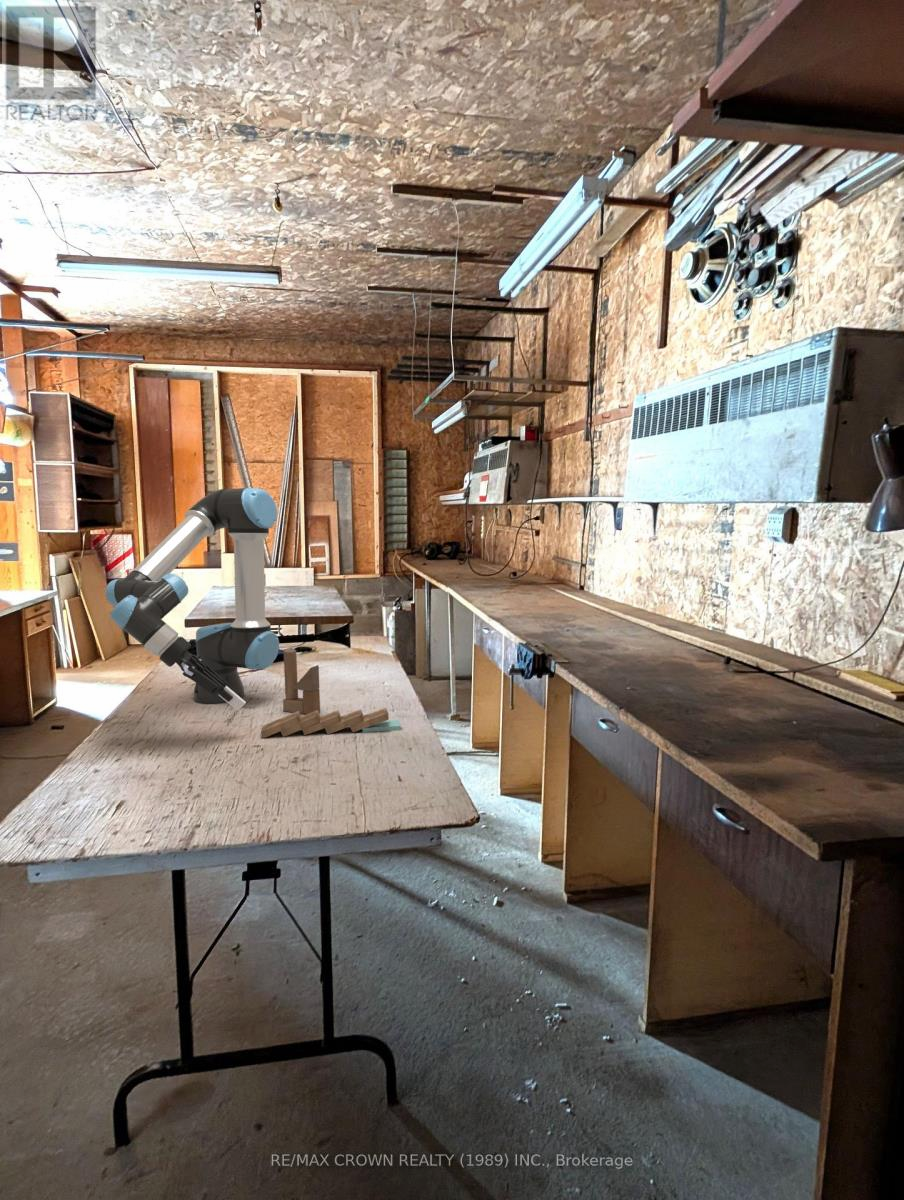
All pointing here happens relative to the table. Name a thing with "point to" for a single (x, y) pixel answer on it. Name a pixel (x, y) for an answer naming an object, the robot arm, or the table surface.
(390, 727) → the domino
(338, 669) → the table surface
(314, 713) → the domino
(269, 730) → the domino
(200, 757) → the table surface
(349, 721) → the domino
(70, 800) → the table surface
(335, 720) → the domino
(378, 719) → the domino
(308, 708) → the wooden block
